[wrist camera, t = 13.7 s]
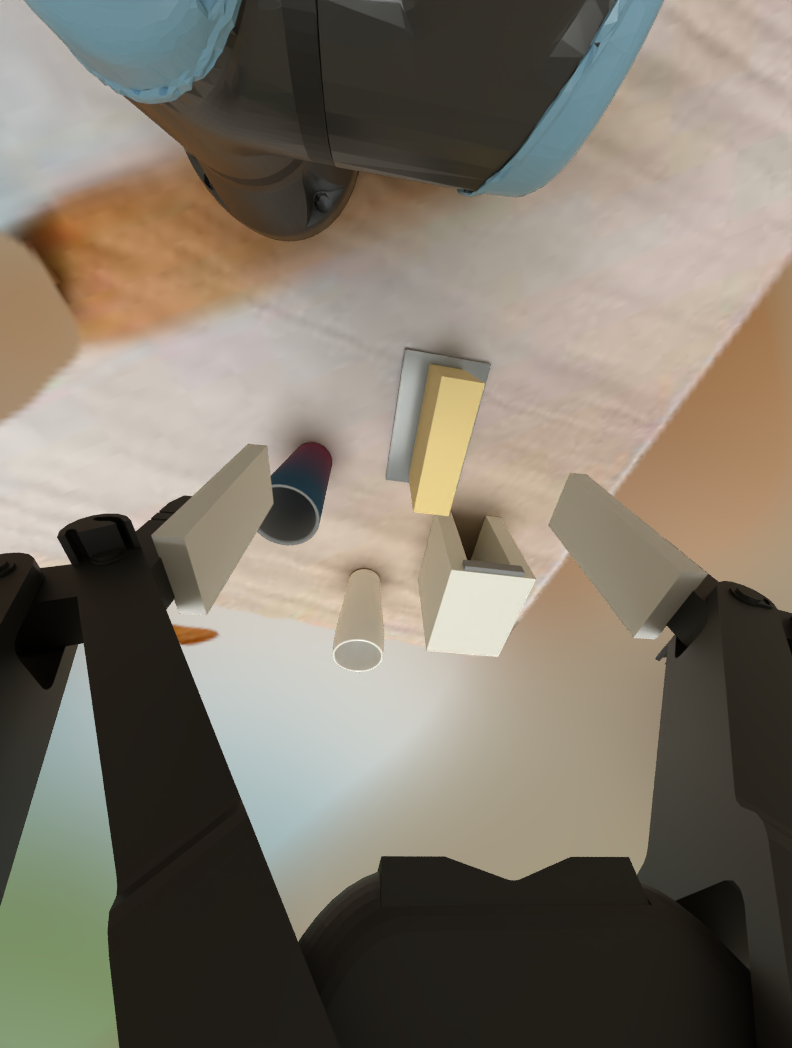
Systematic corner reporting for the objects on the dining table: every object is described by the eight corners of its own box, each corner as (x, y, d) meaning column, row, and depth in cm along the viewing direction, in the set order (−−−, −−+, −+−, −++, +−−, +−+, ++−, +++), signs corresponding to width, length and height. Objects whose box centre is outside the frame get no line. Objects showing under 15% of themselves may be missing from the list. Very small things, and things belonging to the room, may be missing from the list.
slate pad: (405, 349, 38) (405, 349, 37) (489, 363, 39) (490, 364, 38) (385, 477, 46) (385, 479, 45) (455, 486, 47) (456, 488, 46)
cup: (284, 434, 43) (240, 482, 30) (337, 436, 43) (317, 485, 30) (290, 482, 46) (253, 544, 33) (339, 484, 46) (321, 546, 34)
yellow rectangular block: (429, 363, 38) (441, 376, 29) (463, 369, 38) (485, 383, 30) (408, 475, 45) (413, 511, 37) (437, 479, 46) (448, 516, 37)
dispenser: (436, 505, 49) (452, 565, 37) (501, 513, 50) (538, 575, 38) (418, 580, 56) (426, 650, 44) (474, 586, 57) (498, 656, 45)
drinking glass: (380, 560, 54) (377, 635, 41) (388, 591, 57) (388, 669, 44) (339, 567, 54) (325, 643, 41) (350, 597, 58) (339, 675, 45)
